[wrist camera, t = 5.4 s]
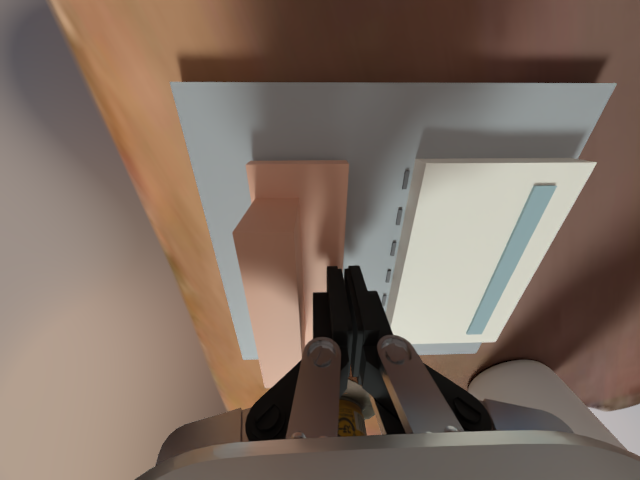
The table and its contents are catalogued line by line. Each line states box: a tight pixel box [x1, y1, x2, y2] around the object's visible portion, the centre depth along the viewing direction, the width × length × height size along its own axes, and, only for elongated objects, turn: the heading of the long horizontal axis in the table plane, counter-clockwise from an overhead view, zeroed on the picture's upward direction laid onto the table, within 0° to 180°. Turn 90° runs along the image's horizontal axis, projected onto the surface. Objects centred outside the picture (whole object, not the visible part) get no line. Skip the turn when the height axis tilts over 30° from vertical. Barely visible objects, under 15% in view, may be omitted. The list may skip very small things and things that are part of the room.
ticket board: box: [170, 82, 617, 360], centre depth 14 cm, size 18×19×2 cm
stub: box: [232, 160, 349, 388], centre depth 12 cm, size 12×4×4 cm, turn 0°
